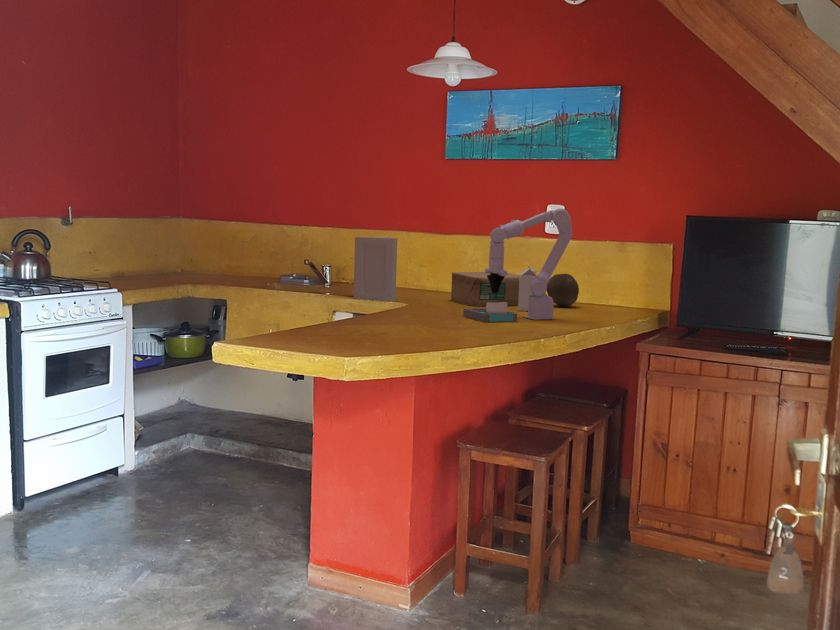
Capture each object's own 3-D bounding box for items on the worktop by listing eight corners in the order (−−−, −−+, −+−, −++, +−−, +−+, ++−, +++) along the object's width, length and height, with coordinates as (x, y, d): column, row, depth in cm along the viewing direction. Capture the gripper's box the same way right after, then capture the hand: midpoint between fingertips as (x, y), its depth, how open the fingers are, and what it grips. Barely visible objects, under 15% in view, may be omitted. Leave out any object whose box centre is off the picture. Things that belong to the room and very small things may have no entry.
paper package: (476, 307, 353) (478, 275, 352) (447, 301, 376) (448, 270, 374) (528, 306, 366) (529, 275, 364) (497, 300, 388) (498, 270, 387)
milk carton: (519, 311, 345) (521, 266, 342) (517, 309, 352) (519, 265, 349) (536, 311, 345) (538, 266, 342) (534, 309, 352) (536, 265, 349)
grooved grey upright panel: (402, 298, 380) (404, 238, 376) (392, 301, 366) (394, 238, 362) (364, 295, 385) (366, 236, 382) (352, 298, 371) (354, 236, 368)
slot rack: (494, 315, 326) (495, 307, 326) (517, 321, 310) (517, 313, 309) (463, 316, 321) (463, 307, 321) (484, 322, 304) (484, 313, 304)
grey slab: (504, 320, 313) (505, 302, 313) (506, 320, 312) (507, 302, 311) (485, 320, 310) (486, 302, 309) (487, 321, 309) (488, 303, 308)
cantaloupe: (562, 304, 376) (564, 272, 374) (584, 308, 365) (586, 274, 363) (539, 305, 369) (541, 272, 367) (560, 309, 357) (562, 275, 355)
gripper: (478, 257, 325) (477, 291, 327) (496, 259, 312) (495, 294, 314) (494, 257, 328) (492, 290, 330) (512, 259, 315) (510, 294, 317)
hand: (494, 292), depth 322 cm, fingers closed
